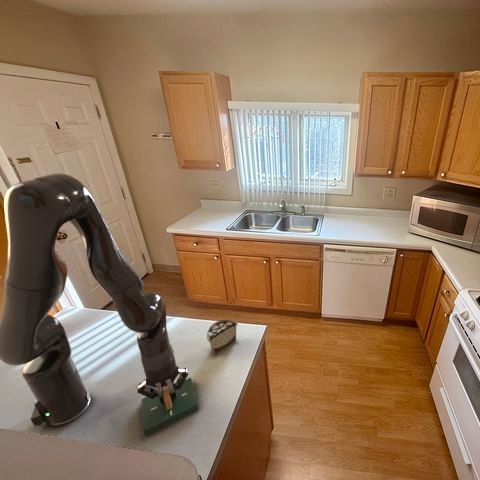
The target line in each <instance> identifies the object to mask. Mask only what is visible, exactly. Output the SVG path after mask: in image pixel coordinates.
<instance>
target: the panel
mask: <svg viewBox="0 0 480 480" xmlns="http://www.w3.org/2000/svg"><path fill="white" fill-rule="evenodd" d="M163 390H164V388H163ZM198 410H199V404H198V400H197V397H196V393H195V389H194V384H193V380H192V377H188V378H186V380H185V381H184V383H183V385H182V387H181V388H180V389H176V398H175V399H174V401H172V409H169V410H167V409H166V406H165V405H164V404H161V402H160V399H159V397H155V398H154V399H151V398H149V397H146V396H144V397H143V398H141V415H142V416H141V417H142V418H141V419H142V433H143V435H144V437H147V436H149V435H151V434H153V433H155V432H156V431H158V430H161V429H162V428H164V427H167V426H169V425H171V424H172V423H175V422H177V421H179V420H180V419H182V418H185V417H186V416H188V415H190V414H192V413H194V412H196V411H198Z"/></svg>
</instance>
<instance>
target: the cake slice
mask: <svg viewBox="0 0 480 480" xmlns="http://www.w3.org/2000/svg"><path fill="white" fill-rule="evenodd" d="M237 326H238V323H237V321H236V320H234V319H229V318H227V319H225V318H224V319H221V320H218V321H216V322H214V323H213V324H211V325H210V326H209V328H208V330H207V332H206V340H207V342H208V343H209V344H210V348H211V351H212V353H213V356H215V357H216V356H218V354H220V353H222V352H223V351H225V350H227V349H228V348H230V347H231V346H233V345H235V344H236V343H237Z"/></svg>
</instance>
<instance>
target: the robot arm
mask: <svg viewBox="0 0 480 480" xmlns="http://www.w3.org/2000/svg"><path fill="white" fill-rule="evenodd" d="M3 209H4V219H5V220H4V221H5V226H6V227H5V228H6V236H7V255H6V259H7V260H6V269H5V274H4V275H5V276H4V287H3V288H4V289H3V293H4V296H3V303H2V310H1V317H0V361H1V362H3V363H5V364H6V365H9V366H23V365H24V366H23V367H22V371H21V375H22V377H23V379H24V381H25V382H26V384H27V386H28V388H29V389H30V391H31V393H32V395H33V396H34V398H35V401H34V403H33V405H34V408H33V410H32V414H31V415H30V416H31V417H30V421H31V423H32V424H33V426H34V427H37V426H39V427H40V426H42V424H45V426H46V427H47V428H48V427H51V426H57V427H58V426H63V425H66V424H68V423H70V422H73V421H74V420H76V419H77V418H78V417H80V416H81V415H83V413H85V411H87V409H88V408H89V407H90V404H91V401H92V399H91V396H90V390H88V389H87V388H86V386H85V383H84V381H83V379H82V378H81V377H82V376H81V375H80V373H79V370H78V368H77V366H76V364H75V361H74V360H73V357H72V353H73V351H72V347H71V344H70V341H69V338H68V335H67V332H66V329H65V327H64V325H63V324H62V323H61V322H60V320H58V319H57V318H56V317H55V316H53V315H51V314H49V313H50V312H51V311H52V310H53V309H54V307H55V305H56V304H57V303H58V301H59V300H60V298H61V297H62V296H63V294H64V291H65V289H66V284H67V279H68V271H69V269H68V265H67V263H66V262H65V260H64V259H63V257H62V256H61V255H60V254H59V253H57V252H56V244H57V243H56V242H57V238H58V234H59V231H60V230H61V228H62V227H63V226H64V225H65V224H67V223H70V224H71V225H72V226H73V227H74V228H75V230H76V231H77V232H78V235H79V236H80V239H81V241H82V244H83V247H84V251H85V256H86V261H87V265H88V268H89V270H90V273H91V275H92V278H93V279H94V280H95V282H96V283H97V284H98V285H99V286H100V287H101V289H103V291H104V292H105V293H106V294H107V295H108V296H109V297H110V298H111V300H112V302H113V305H114V308H115V309H116V312H117V313H118V316H119V318H120V320H121V321H122V323H123V325H124V326H125V327H126V328H127V329H129V330H130V331H132V332H133V333H134V332H135V333H137V335H136V343H137V348H138V351H139V354H140V362H141V364H142V369H143V372H144V375H145V381H143V382H139V383H138V384H137V394H139V395H142V396H144V397H149V398H151V399H154V398H155V397H159V399H160V402H161V404H164V405H165V402H164V390H163V389H164V386H168V389H169V390H170V397H171V401H174V399H175V398H176V389H180V388H181V387H182V385H183V383H184V381H185V380H186V379H188V376H189V369H188V367H184V368H183V369H180V367H179V366H177V363H176V357H175V354H174V349H173V346H172V344H171V341H170V336H169V332H168V330H167V308H166V306H167V305H166V303H165V300H164V299H163V297H162V296H160V295H159V294H158V293H155V292H145V293H144V287H145V284H144V281H143V279H142V278H141V276H140V275H139V274H138V273H137V271H136V270H135V269H134V267H133V266H132V265H131V263H130V262H129V261H128V260H127V259H126V257H125V255H124V253H123V252H122V251H121V249H120V247H119V246H118V244H117V242H116V240H115V238H114V236H113V235H112V233H111V230H110V228H109V226H108V225H107V222H106V221H105V218H104V217H103V215H102V213H101V211H100V209H99V206H98V205H97V203H96V201H95V199H94V198H93V195H91V193H90V191H89V189H88V188H87V187H86V186H85V185H84V184H83V183H82V182H81V181H80V180H78V179H77V178H76V177H73V176H72V175H69V174H65V173H57V172H56V173H50V174H46V175H42V176H38V177H34V178H30V179H27V180H23V181H19V182H18V183H15V184H13V185H12V186H10V187H9V188H8V190H6V193H5V195H4V199H3ZM177 377H178V378H177ZM176 379H177V380H176ZM175 381H176V382H175Z"/></svg>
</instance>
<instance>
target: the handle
mask: <svg viewBox="0 0 480 480" xmlns="http://www.w3.org/2000/svg"><path fill="white" fill-rule="evenodd" d="M163 389H164V402H165V406H166V409H167V410H169V409H172V401H171V397H170V390H169V389H168V386H164V387H163Z"/></svg>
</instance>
